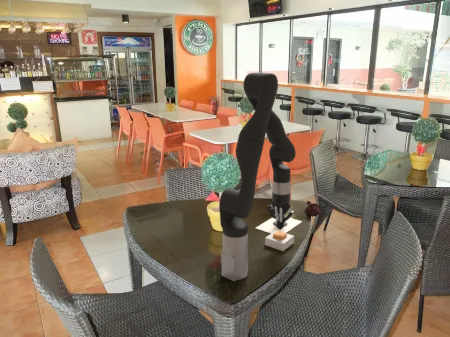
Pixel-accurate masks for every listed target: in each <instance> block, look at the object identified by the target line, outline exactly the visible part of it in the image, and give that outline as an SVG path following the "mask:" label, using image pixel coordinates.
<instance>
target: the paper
mask: <svg viewBox="0 0 450 337" xmlns="http://www.w3.org/2000/svg"><path fill="white" fill-rule="evenodd" d="M302 222H303V221H302V220H300V219H299V220H298V219H296V218H295V219H294V218H292V217H290V218H289V219H288V220H287V221H286V222H284V228H282V229H281V230H280V229H278V228H277V225H276V219H275V218H273V217H272V216H271V218H269V219H268V220H266V221H264V222H262V223H261V224H259V225H258V226H256V227H255V229H256V230H259V231H261V232H263V233H264V232H265V233H267V234H269V235H270V234H271V233H273V232H274V231H276V230H277V231H281V232H284V233H287V234H288V232H290V231H292V230H293V229H295V228H296V227H297V226H298V225H300V224H302Z"/></svg>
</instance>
